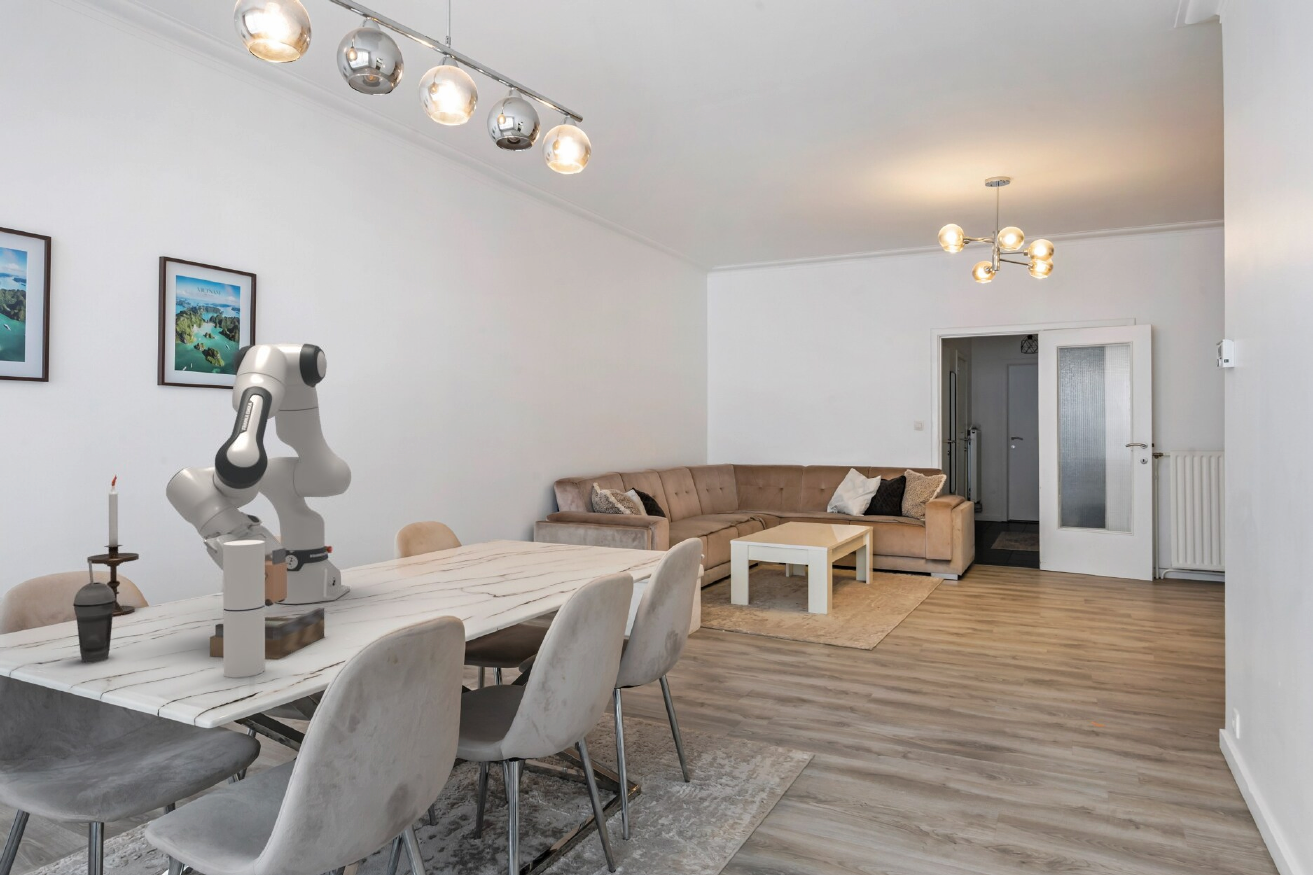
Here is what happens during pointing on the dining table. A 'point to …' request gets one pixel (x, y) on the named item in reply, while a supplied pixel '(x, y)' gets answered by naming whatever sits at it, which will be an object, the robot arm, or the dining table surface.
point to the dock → (281, 634)
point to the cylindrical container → (244, 608)
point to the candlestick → (114, 553)
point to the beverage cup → (94, 619)
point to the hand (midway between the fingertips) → (272, 576)
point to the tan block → (276, 577)
